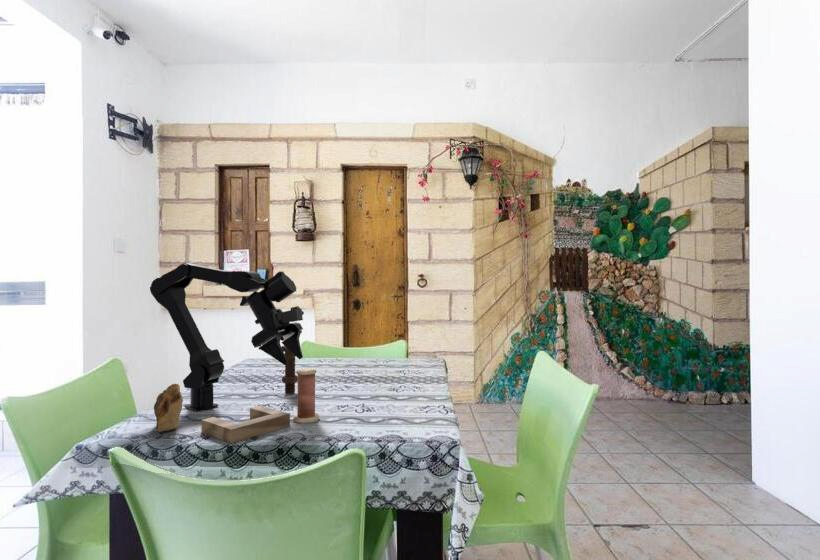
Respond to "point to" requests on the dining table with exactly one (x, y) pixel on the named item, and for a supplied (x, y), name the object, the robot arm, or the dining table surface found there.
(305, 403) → the bobbin
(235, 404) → the dining table surface
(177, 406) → the decorative rock
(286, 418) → the notch board
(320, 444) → the dining table surface
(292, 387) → the bolt
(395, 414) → the dining table surface
